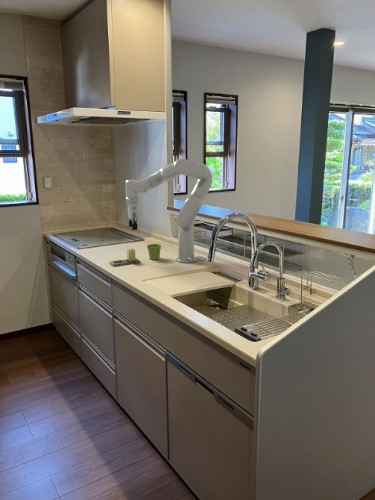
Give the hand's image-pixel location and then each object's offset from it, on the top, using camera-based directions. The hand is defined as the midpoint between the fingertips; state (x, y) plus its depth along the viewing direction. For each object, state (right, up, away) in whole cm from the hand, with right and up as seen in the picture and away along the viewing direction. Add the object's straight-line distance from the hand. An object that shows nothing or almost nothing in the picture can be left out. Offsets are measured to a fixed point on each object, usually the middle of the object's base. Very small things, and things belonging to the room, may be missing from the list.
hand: (133, 228), depth 247 cm
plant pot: (+13, -19, +6) cm, 24 cm away
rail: (-5, -21, -2) cm, 22 cm away
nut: (-1, -21, 0) cm, 21 cm away
